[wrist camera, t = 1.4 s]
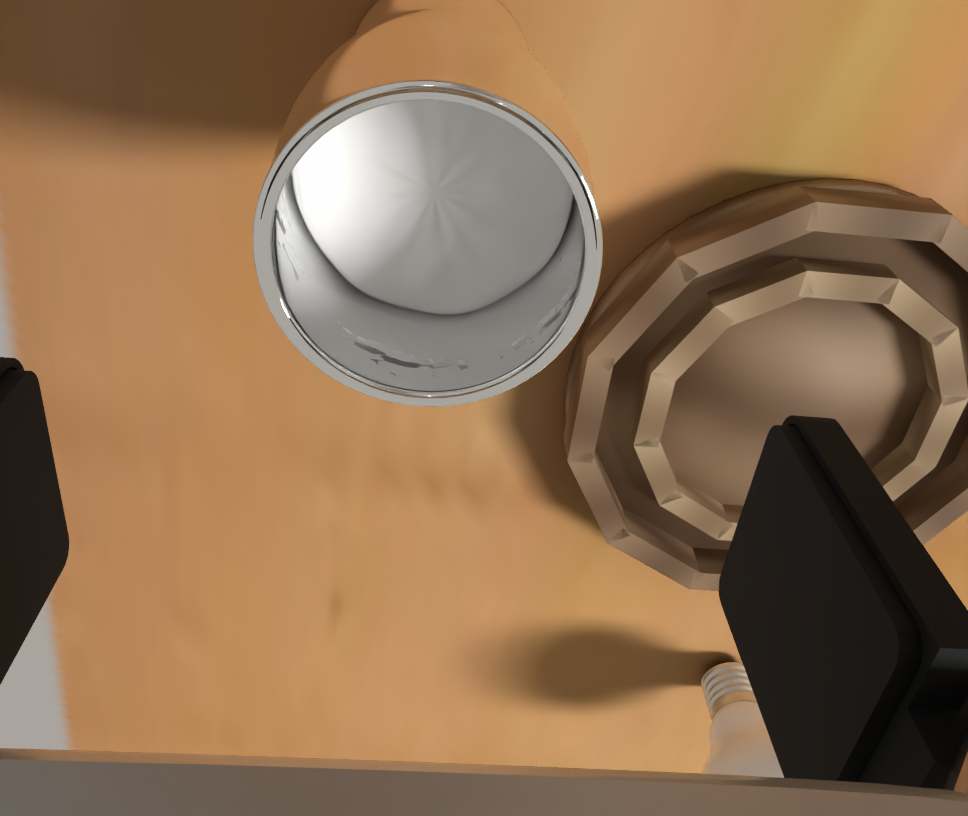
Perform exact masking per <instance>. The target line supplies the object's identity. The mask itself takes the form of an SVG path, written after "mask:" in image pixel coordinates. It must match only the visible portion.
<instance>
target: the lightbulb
mask: <svg viewBox="0 0 968 816" xmlns="http://www.w3.org/2000/svg"><path fill="white" fill-rule="evenodd" d="M701 685H702V689H703V692H704V696H705V699H706V703H707V706H708V709H709V713H710V717H711V721H712V722H711V726H710V753H709V756H708V758H707V761H706V763H705V765H704V767H703V770H702V772H701V774H721V775H745V776H761V777H778V778H784V776H783V773H782V770H781V767H780V765H779V762H778V759H777V756H776V754H775V751H774V748H773V745H772V743H771V740H770V737H769V734H768V732H767V729H766V726H765V723H764V721H763V718H762V715H761V712H760V710H759V707H758V704H757V701H756V698H755V696H754V693H753V690H752V687H751V685H750V682H749V679H748V676H747V674H746V671H745V668H744V665H743V664H741V663H736V662H727V663H722V664H719V665H716V666H714V667H712V668H711V669H709V670H708V671H707V672H706V673H705V674H704V676H703V678H702V681H701Z"/></svg>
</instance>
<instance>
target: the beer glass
mask: <svg viewBox="0 0 968 816" xmlns="http://www.w3.org/2000/svg"><path fill="white" fill-rule="evenodd" d="M253 254H254V262H255V268H256V273H257V277H258V281H259V285H260V288H261V291H262V293H263V296H264V299H265V301H266V303H267V306H268V308H269V310H270V312H271V314H272V315H273V317H274V319H275V321H276V322H277V324H278V325H279V327H280V328H281V330H282V331H283V333H284V334H285V336H286V337H287V338H288V339H289V341H290V342H291V343H292V344H293V345H294V346H295V348H296V349H297V350H298V351H299V352H300V353H301V354H302V355H303V356H304V357H305V358H306V359H307V360H309V361H310V362H311V363H312V364H313V365H314V366H316V367H317V368H318V369H320V370H321V371H322V372H324V373H325V374H326V375H328V376H329V377H331V378H333V379H334V380H336V381H338V382H339V383H341V384H343V385H345V386H347V387H349V388H351V389H353V390H355V391H357V392H360V393H362V394H365V395H367V396H370V397H373V398H376V399H379V400H383V401H387V402H391V403H396V404H402V405H408V406H419V407H445V406H456V405H462V404H468V403H472V402H477V401H481V400H484V399H487V398H491V397H493V396H496V395H499V394H501V393H504V392H506V391H508V390H510V389H512V388H514V387H516V386H518V385H520V384H522V383H523V382H525V381H527V380H528V379H530V378H532V377H533V376H534V375H536V374H537V373H539V372H540V371H541V370H543V369H544V368H545V367H546V366H547V365H549V364H550V363H551V362H552V361H553V360H554V359H555V358H556V357H557V356H558V355H559V354H560V353H561V352H562V351H563V350H564V349H565V348H566V346H567V345H568V344H569V343H570V342H571V340H572V339H573V337H574V336H575V335H576V333H577V332H578V330H579V329H580V327H581V325H582V324H583V322H584V320H585V318H586V316H587V314H588V312H589V310H590V308H591V305H592V303H593V300H594V298H595V295H596V291H597V288H598V284H599V280H600V275H601V269H602V261H603V233H602V224H601V218H600V213H599V209H598V205H597V202H596V199H595V192H594V186H593V180H592V175H591V169H590V164H589V160H588V156H587V152H586V149H585V146H584V142H583V139H582V136H581V133H580V130H579V127H578V124H577V121H576V119H575V117H574V114H573V112H572V110H571V108H570V106H569V105H568V103H567V101H566V99H565V97H564V96H563V94H562V92H561V90H560V89H559V87H558V85H557V84H556V82H555V81H554V79H553V78H552V76H551V75H550V73H549V72H548V71H547V70H546V68H545V67H544V66H543V65H542V64H541V63H540V62H539V60H538V59H537V58H536V57H535V56H534V55H533V54H531V53H530V50H529V46H528V43H527V40H526V38H525V35H524V33H523V31H522V29H521V28H520V26H519V24H518V23H517V21H516V20H515V18H514V17H513V15H512V14H511V13H510V12H509V10H508V9H507V8H506V7H505V6H504V5H503V4H502V3H501V2H500V1H499V0H378V1H377V2H376V3H375V4H374V5H373V6H372V8H371V9H370V10H369V11H368V13H367V14H366V15H365V17H364V18H363V20H362V21H361V23H360V25H359V27H358V29H357V31H356V33H355V36H354V37H352V38H351V39H349V40H348V41H346V42H345V43H344V44H343V45H341V46H340V47H339V48H338V49H336V50H335V51H334V52H333V53H332V54H331V55H330V56H329V57H328V58H327V59H326V60H325V62H324V63H323V64H322V65H321V66H320V67H319V69H318V70H317V71H316V73H315V74H314V75H313V76H312V78H311V79H310V80H309V82H308V83H307V84H306V86H305V87H304V88H303V90H302V91H301V93H300V95H299V96H298V98H297V100H296V102H295V104H294V106H293V108H292V110H291V112H290V114H289V116H288V118H287V120H286V123H285V125H284V127H283V129H282V131H281V134H280V136H279V139H278V142H277V145H276V149H275V152H274V155H273V158H272V161H271V165H270V168H269V172H268V174H267V176H266V178H265V181H264V183H263V186H262V188H261V191H260V194H259V198H258V202H257V206H256V210H255V216H254V225H253Z"/></svg>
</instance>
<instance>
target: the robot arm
mask: <svg viewBox="0 0 968 816" xmlns="http://www.w3.org/2000/svg"><path fill="white" fill-rule="evenodd" d="M68 551H69V536H68V531H67V525H66V520H65V515H64V510H63V505H62V500H61V494H60V489H59V484H58V479H57V474H56V469H55V463H54V458H53V453H52V448H51V443H50V437H49V432H48V427H47V422H46V417H45V412H44V406H43V401H42V396H41V391H40V386H39V382H38V378H37V376H36V375H35V373H33V372H32V371H24V369H23V366H22V365H21V363H20V361H18V360H17V359H15V358H4V357H0V684H1V682H2V680H3V679H4V677H5V675H6V673H7V671H8V669H9V667H10V666H11V664H12V662H13V660H14V658H15V656H16V655H17V653H18V651H19V649H20V647H21V646H22V644H23V642H24V640H25V638H26V636H27V634H28V633H29V631H30V628H31V627H32V625H33V623H34V622H35V620H36V618H37V616H38V614H39V612H40V610H41V609H42V607H43V605H44V603H45V601H46V599H47V598H48V596H49V594H50V592H51V590H52V588H53V587H54V585H55V583H56V581H57V579H58V577H59V575H60V574H61V572H62V570H63V568H64V566H65V563H66V560H67V557H68ZM719 597H720V601H721V605H722V607H723V610H724V613H725V616H726V618H727V621H728V624H729V627H730V630H731V632H732V635H733V638H734V641H735V643H736V646H737V649H738V652H739V654H740V657H741V660H742V663H743V665H744V668H745V671H746V674H747V676H748V679H749V682H750V685H751V687H752V690H753V693H754V696H755V698H756V701H757V704H758V707H759V710H760V712H761V715H762V718H763V721H764V723H765V726H766V729H767V732H768V734H769V737H770V740H771V743H772V745H773V748H774V751H775V754H776V756H777V759H778V762H779V765H780V767H781V770H782V773H783V776H784V778H778V777H761V776H745V775H721V774H698V773H675V772H651V771H628V770H604V769H581V768H558V767H534V766H508V765H482V764H456V763H430V762H403V761H376V760H349V759H321V758H293V757H266V756H235V755H204V754H172V753H141V752H109V751H78V750H46V749H4V748H3V749H1V748H0V816H968V610H967V609H966V607H965V606H964V605H963V603H962V602H961V600H960V599H959V597H958V596H957V594H956V593H955V591H954V590H953V589H952V587H951V586H950V584H949V583H948V581H947V580H946V578H945V577H944V575H943V574H942V572H941V571H940V570H939V568H938V567H937V565H936V564H935V562H934V561H933V559H932V558H931V556H930V555H929V554H928V552H927V551H926V549H925V548H924V546H923V545H922V543H921V542H920V540H919V539H918V538H917V536H916V535H915V533H914V532H913V530H912V529H911V527H910V526H909V524H908V523H907V521H906V520H905V519H904V517H903V516H902V514H901V513H900V511H899V510H898V508H897V507H896V505H895V504H894V503H893V501H892V500H891V498H890V497H889V495H888V494H887V492H886V491H885V489H884V488H883V486H882V485H881V484H880V482H879V481H878V479H877V478H876V476H875V475H874V473H873V472H872V470H871V469H870V468H869V466H868V465H867V463H866V462H865V460H864V459H863V457H862V456H861V454H860V453H859V451H858V450H857V449H856V447H855V446H854V444H853V443H852V441H851V440H850V438H849V437H848V435H847V434H846V433H845V431H844V430H843V428H842V427H841V425H840V424H839V423H838V422H837V421H836V420H835V419H832V418H822V417H809V416H795V415H791V416H789V417H787V418H786V419H785V421H784V422H783V424H782V425H774V426H772V428H771V429H770V430H769V433H768V435H767V438H766V440H765V443H764V446H763V449H762V452H761V455H760V458H759V461H758V464H757V467H756V470H755V473H754V476H753V479H752V482H751V485H750V488H749V491H748V494H747V497H746V500H745V503H744V506H743V509H742V512H741V515H740V518H739V521H738V524H737V527H736V530H735V533H734V536H733V539H732V542H731V544H730V547H729V550H728V553H727V556H726V559H725V562H724V565H723V568H722V571H721V575H720V579H719Z"/></svg>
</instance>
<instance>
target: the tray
mask: <svg viewBox="0 0 968 816" xmlns="http://www.w3.org/2000/svg"><path fill="white" fill-rule="evenodd" d="M791 415H795V416H809V417H822V418H832V419H835V420H836V421H837V422H838V423H839V424H840V425H841V427H842V428H843V430H844V431H845V433H846V434H847V435H848V437H849V438H850V440H851V441H852V443H853V444H854V446H855V447H856V449H857V450H858V451H859V453H860V454H861V456H862V457H863V459H864V460H865V462H866V463H867V465H868V466H869V468H870V469H871V470H872V472H873V473H874V475H875V476H876V478H877V479H878V481H879V482H880V484H881V485H882V486H883V488H884V489H885V491H886V492H887V494H888V495H889V497H890V498H891V500H892V501H893V503H894V504H895V505H896V507H897V508H898V510H899V511H900V513H901V514H902V516H903V517H904V519H905V520H906V521H907V523H908V524H909V526H910V527H911V529H912V530H913V532H914V533H915V535H916V536H917V538H918V539H919V540H920V542H921V543H922V545H923V544H925V543H926V542H927V541H929V540H930V539H931V538H933V537H934V536H935V535H937V534H938V533H939V532H940V531H942V530H943V529H944V528H946V527H947V526H948V525H950V524H951V523H952V522H954V521H955V520H956V519H957V518H959V517H960V516H961V515H963V514H964V513H965V512H967V511H968V228H967V227H966V226H964V225H963V224H962V223H961V222H960V221H959V220H957V219H956V218H955V217H954V216H953V215H952V214H951V213H949V212H948V211H947V210H946V209H944V208H943V207H942V206H940V205H939V204H938V203H936V202H935V201H934V200H932V199H931V198H921V197H919V196H917V195H915V194H912V193H909V192H906V191H903V190H900V189H897V188H894V187H891V186H888V185H883V184H877V183H871V182H865V181H859V180H846V179H816V180H805V181H795V182H788V183H783V184H779V185H774V186H770V187H765V188H761V189H756V190H753V191H751V192H748V193H745V194H742V195H739V196H736V197H733V198H730V199H728V200H725V201H723V202H720V203H718V204H716V205H714V206H712V207H710V208H708V209H706V210H704V211H702V212H700V213H698V214H696V215H694V216H692V217H690V218H689V219H687V220H686V221H684V222H682V223H681V224H679V225H678V226H676V227H674V228H673V229H671V230H670V231H668V232H667V233H665V234H664V235H662V236H661V237H660V238H659V239H658V240H656V241H655V242H654V243H653V244H651V245H650V246H649V247H648V248H646V249H645V250H644V251H643V252H641V253H640V254H639V255H638V256H637V257H636V258H635V259H634V260H633V261H632V262H631V263H630V264H629V265H628V266H627V267H626V268H625V269H624V270H623V271H622V272H621V273H620V274H619V275H618V276H617V278H616V279H615V280H614V282H613V283H612V284H611V285H610V287H609V288H608V289H607V291H606V292H605V293H604V294H603V296H602V297H601V298H600V300H599V301H598V303H597V305H596V306H595V308H594V310H593V311H592V313H591V315H590V317H589V318H588V320H587V322H586V323H585V325H584V327H583V330H582V332H581V335H580V337H579V339H578V342H577V344H576V346H575V349H574V352H573V355H572V359H571V363H570V367H569V371H568V375H567V382H566V392H565V419H566V425H565V431H564V436H563V441H564V446H565V452H566V457H567V462H568V464H569V466H570V468H571V470H572V472H573V474H574V476H575V478H576V480H577V482H578V484H579V486H580V488H581V490H582V492H583V494H584V496H585V498H586V500H587V502H588V504H589V506H590V508H591V510H592V512H593V515H594V517H595V519H596V521H597V523H598V525H599V527H600V529H601V531H602V533H603V535H604V537H605V539H606V541H607V543H608V544H610V545H612V546H614V547H615V548H617V549H619V550H621V551H622V552H624V553H626V554H628V555H630V556H631V557H633V558H635V559H637V560H638V561H640V562H642V563H644V564H646V565H647V566H649V567H651V568H653V569H654V570H656V571H658V572H660V573H662V574H663V575H665V576H667V577H669V578H670V579H672V580H674V581H676V582H678V583H679V584H681V585H683V586H685V587H686V588H688V589H694V590H712V591H719V579H720V575H721V571H722V568H723V565H724V562H725V559H726V556H727V553H728V550H729V547H730V544H731V542H732V539H733V536H734V533H735V530H736V527H737V524H738V521H739V518H740V515H741V512H742V509H743V506H744V503H745V500H746V497H747V494H748V491H749V488H750V485H751V482H752V479H753V476H754V473H755V470H756V467H757V464H758V461H759V458H760V455H761V452H762V449H763V446H764V443H765V440H766V438H767V435H768V433H769V430H770V429H771V428H772V426H774V425H782V424H783V422H784V421H785V419H786V418H787V417H789V416H791Z"/></svg>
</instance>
